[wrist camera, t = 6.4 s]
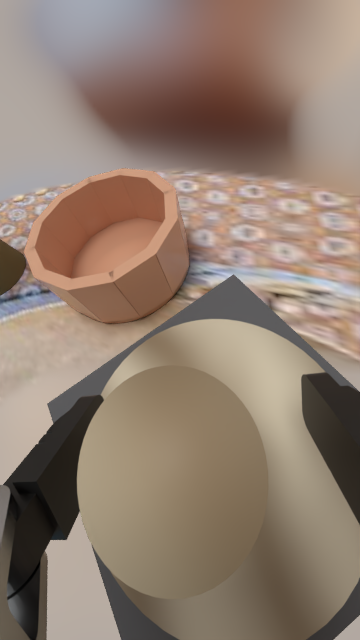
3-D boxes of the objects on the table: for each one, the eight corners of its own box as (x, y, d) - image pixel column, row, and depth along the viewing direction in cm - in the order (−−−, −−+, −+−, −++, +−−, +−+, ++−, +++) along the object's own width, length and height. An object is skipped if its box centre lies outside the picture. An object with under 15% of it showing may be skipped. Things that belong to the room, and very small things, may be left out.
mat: (171, 777, 9) (169, 791, 8) (51, 404, 16) (47, 403, 16) (471, 501, 10) (479, 503, 10) (233, 277, 18) (233, 274, 17)
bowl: (98, 350, 17) (51, 321, 13) (55, 264, 22) (12, 222, 18) (216, 269, 18) (210, 217, 14) (149, 204, 23) (130, 152, 19)
